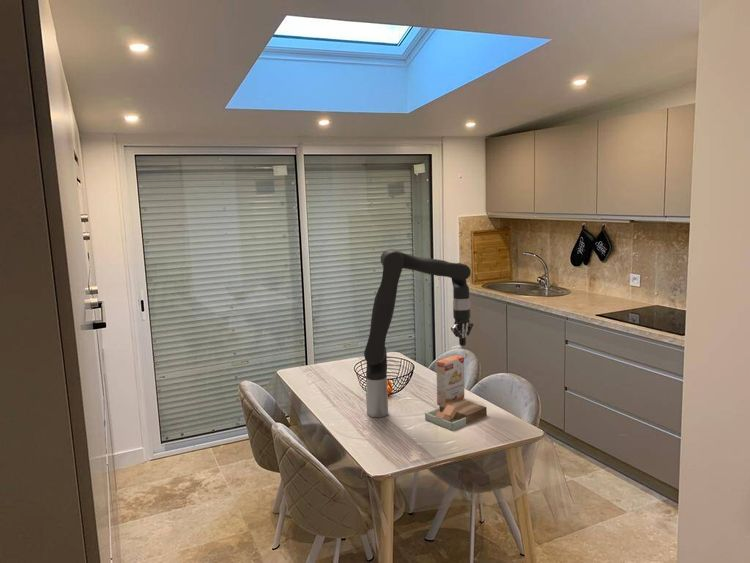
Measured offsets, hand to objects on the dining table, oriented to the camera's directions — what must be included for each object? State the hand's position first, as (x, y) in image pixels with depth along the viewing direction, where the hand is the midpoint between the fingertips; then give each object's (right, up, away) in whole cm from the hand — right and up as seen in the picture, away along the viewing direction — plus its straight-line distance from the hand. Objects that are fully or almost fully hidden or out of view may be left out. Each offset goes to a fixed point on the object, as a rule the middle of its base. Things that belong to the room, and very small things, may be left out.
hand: (462, 345), depth 246 cm
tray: (-9, -32, -12) cm, 35 cm away
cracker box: (-3, -28, +12) cm, 31 cm away
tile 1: (-10, -28, -13) cm, 32 cm away
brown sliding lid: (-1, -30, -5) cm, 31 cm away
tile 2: (-7, -28, -11) cm, 31 cm away
